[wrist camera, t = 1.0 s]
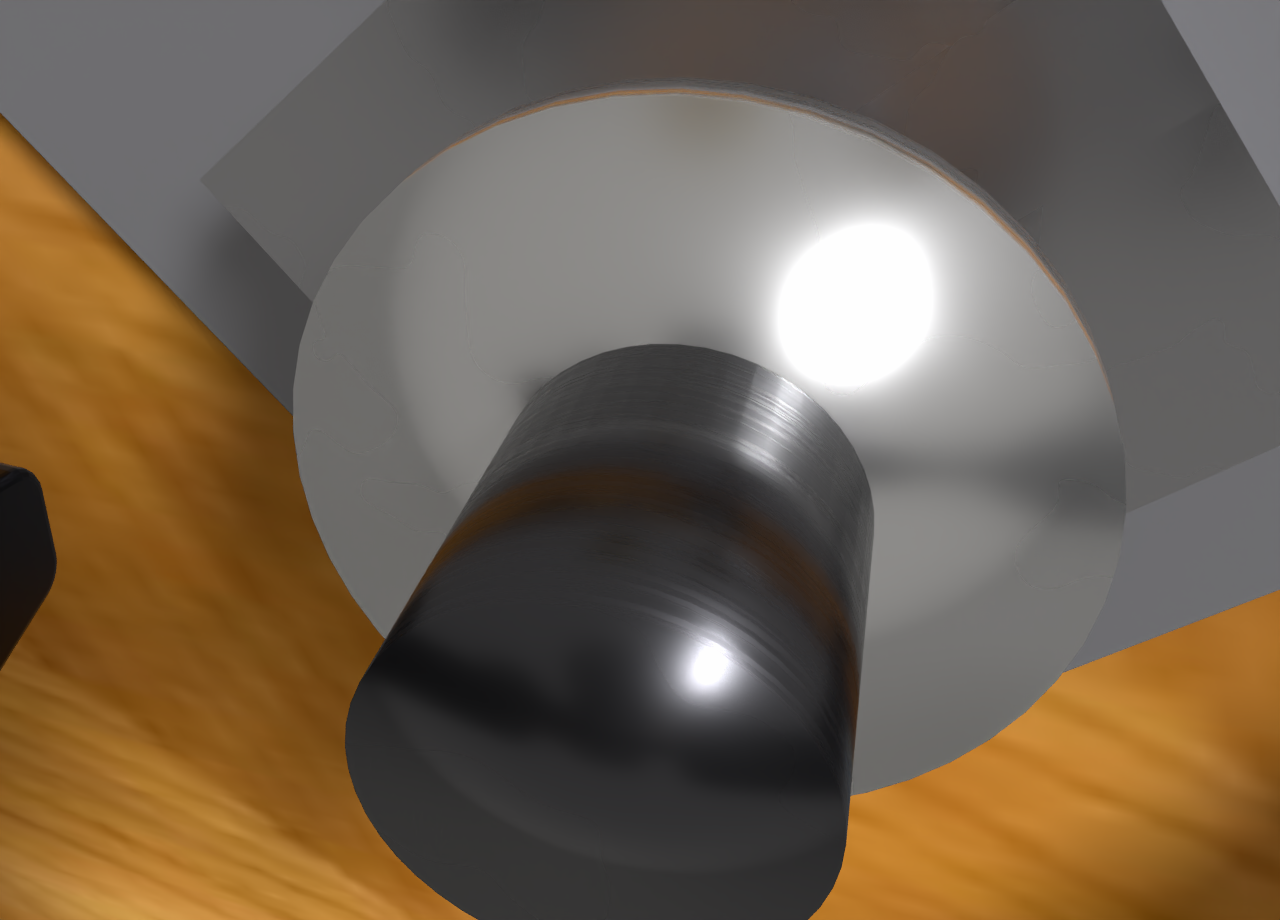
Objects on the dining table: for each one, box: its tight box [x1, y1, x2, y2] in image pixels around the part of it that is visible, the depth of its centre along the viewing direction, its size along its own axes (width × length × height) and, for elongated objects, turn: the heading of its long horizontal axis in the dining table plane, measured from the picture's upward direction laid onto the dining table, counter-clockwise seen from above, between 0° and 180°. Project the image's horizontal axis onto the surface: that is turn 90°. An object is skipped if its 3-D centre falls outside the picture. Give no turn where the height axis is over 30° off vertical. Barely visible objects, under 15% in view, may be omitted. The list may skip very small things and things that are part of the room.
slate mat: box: [0, 0, 1280, 672], centre depth 19 cm, size 22×22×1 cm
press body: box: [200, 0, 1280, 514], centre depth 16 cm, size 10×10×5 cm
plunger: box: [293, 77, 1126, 920], centre depth 11 cm, size 7×7×8 cm
